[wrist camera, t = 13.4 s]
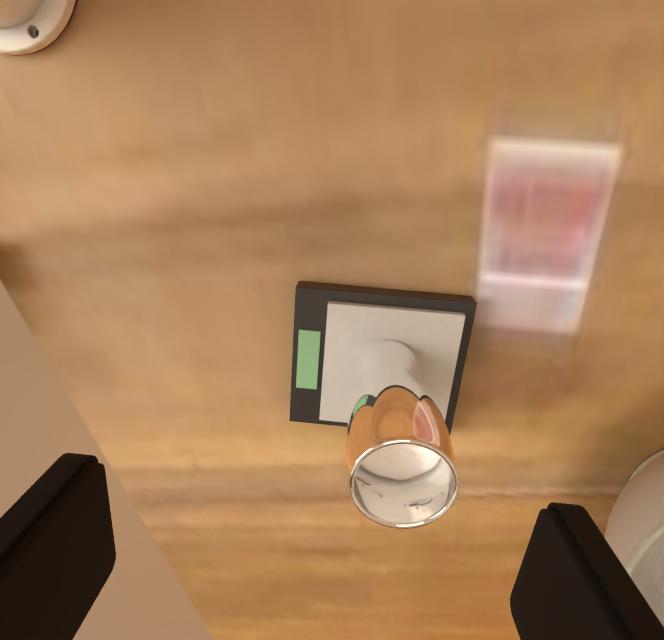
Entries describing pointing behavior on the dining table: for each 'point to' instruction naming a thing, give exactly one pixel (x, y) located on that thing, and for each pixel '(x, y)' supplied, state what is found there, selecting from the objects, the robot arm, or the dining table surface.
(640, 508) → the decorative bowl
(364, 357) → the beer glass
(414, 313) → the scale
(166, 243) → the dining table surface
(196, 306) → the dining table surface
